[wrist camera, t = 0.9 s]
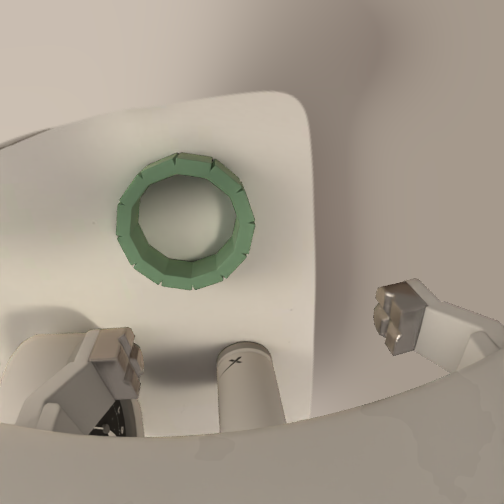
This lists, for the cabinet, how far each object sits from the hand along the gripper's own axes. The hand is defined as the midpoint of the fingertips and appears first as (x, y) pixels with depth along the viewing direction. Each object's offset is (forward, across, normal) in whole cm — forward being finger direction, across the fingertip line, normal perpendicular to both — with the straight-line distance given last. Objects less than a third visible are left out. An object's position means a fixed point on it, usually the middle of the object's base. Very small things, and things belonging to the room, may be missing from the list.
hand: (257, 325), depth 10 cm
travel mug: (+18, +2, +20) cm, 27 cm away
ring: (+18, +4, +2) cm, 18 cm away
